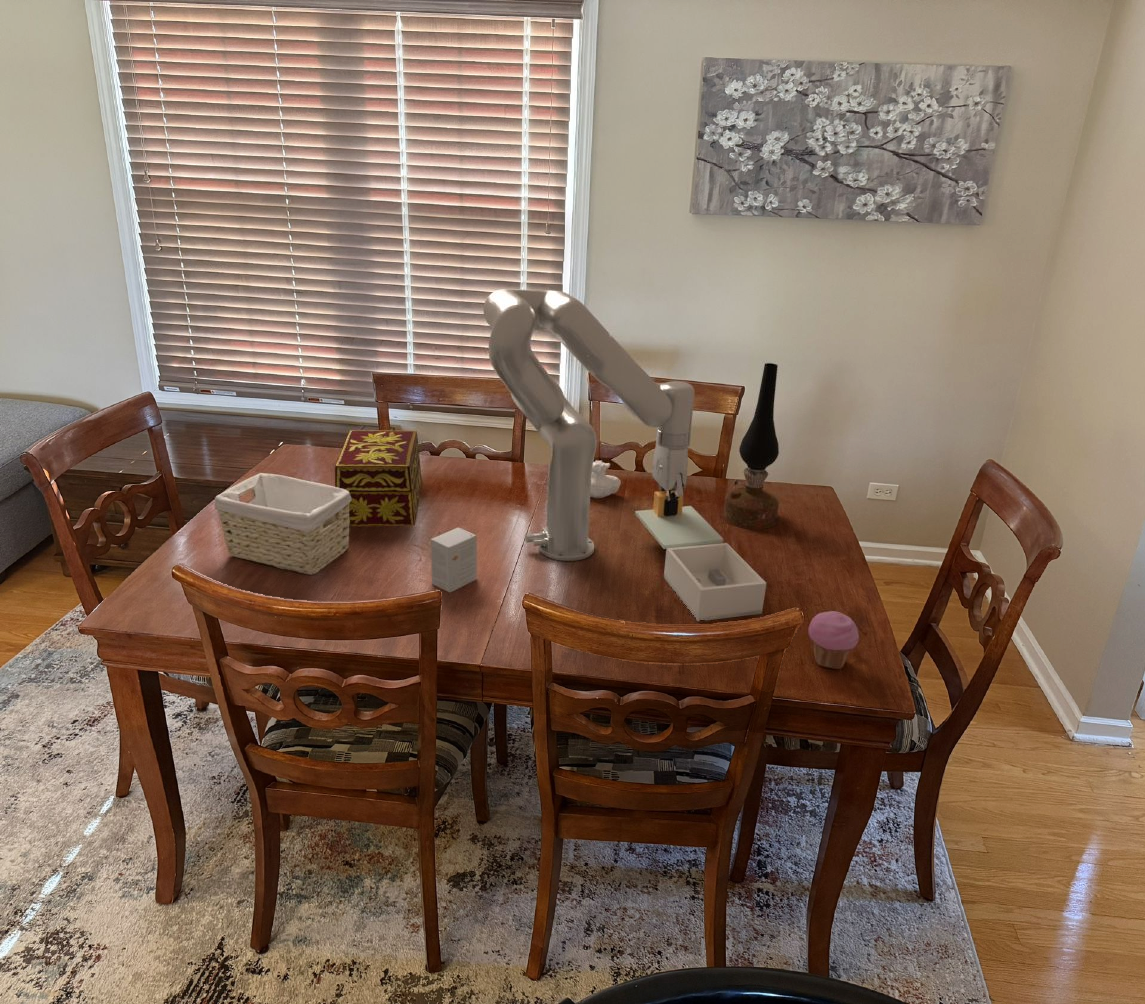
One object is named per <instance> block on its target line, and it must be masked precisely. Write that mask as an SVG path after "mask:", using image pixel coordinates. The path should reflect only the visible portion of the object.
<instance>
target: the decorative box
mask: <svg viewBox="0 0 1145 1004" xmlns="http://www.w3.org/2000/svg"><path fill="white" fill-rule="evenodd" d="M420 458H421V456H420V448H419V439H418V432H417V430H382V429H381V430H380V429H379V430H376V429H375V430H374V429H373V430H361V429H359V430H358V429H357V430H354V429H353V430H352V429H351V430H349V432H348V434H347V437H346V440H345V441H344V444H343V446H342V449H341V452H340V453H339V456H338V458H337V461H336V464H335V466H334V487H337V488H341V489H344V490H347V491H349V493H350V496H351V502H350V503H349V520H350V524H349V527H415V526H416V522H417V515H418V510H419V503H420V498H421V497H420V496H421V491H422V483H423V480H422V479H423V478H422V468H421V459H420Z"/></svg>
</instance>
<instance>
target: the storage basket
mask: <svg viewBox="0 0 1145 1004" xmlns="http://www.w3.org/2000/svg"><path fill="white" fill-rule="evenodd" d="M250 492H251V495H252V496H253V499H252V500H251V501H249V502H247V503H246V502H244V501H240V499H239V498H242V496H244V495H247V493H250ZM350 502H351V496H350V493H349V491H347V490H344V489H341V488H337V487H335V486H333V485H329V484H326V483H319V482H314V481H310V480H309V481H308V480H304V479H299V478H295V477H290V476H286V475H281V474H274V473H263V472H259V473H258V474H255V475H253V476H251V477H249V478H247V479H244V480H242V481H240V482H238V483H236V484H235V485H234V486H231V487H230V488H227V489H226V490H225V491H223V492H222V493H220V494H217V495H216V496H215V497H214V509H216V510H217V514H218V518H219V520H220V525H221V527H222V532H223V539H224V541H225V545H226V549H227V553H228V555H229V556H232V557H235V558H238V559H242V560H243V559H244V560H246V561H252V562H255V563H261V564H265V565H268V566H272V567H276V568H278V569H281V570H287V571H294V572H297V573H300V574H304V575H305V574H306V575H315V574H317V573H318V572H320V571H321V570H322V569H325V568H326V566H327V565H330V563H332V562H333V561H335V560H336V559H337V558H339V557H340V556H341V555H343V554H344V553H345V552H346V551H347V550H348V549H349V547H350V546H349V543H350V542H349V541H350V536H349V534H350V526H349V524H350V520H349V503H350Z"/></svg>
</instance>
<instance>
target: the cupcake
mask: <svg viewBox="0 0 1145 1004" xmlns="http://www.w3.org/2000/svg"><path fill="white" fill-rule="evenodd" d="M807 630H808V636H809V638H810V639H811V641H813V655H814V660H815V662H816V663H817V665H819V666H821V667H824V668H830V669H835V670H840V669H842V668H843V667H844V666H845V663H846V660H847V657H848V656H849V653H850V651H851V650H852V649H854V648H855V647H856V646H857V644H858V642H859V640H860V635H859V631H858V630H859V629H858V626H857V624H856V623H855V621H854V620H853V619H852V618H851V617H850V616H848V615H846V614H844V613H842V612H839V611H835V610H829V611H824V612H820V613H817V614H816V615H815V616H814V617H813V618H812V620H811V621H810V624H809V626H808V629H807Z"/></svg>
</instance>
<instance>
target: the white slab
mask: <svg viewBox="0 0 1145 1004" xmlns="http://www.w3.org/2000/svg"><path fill="white" fill-rule="evenodd" d="M675 491H676V490H674V491H671V493H672V492H675ZM666 497H667V491H659V490H658V491H654V494H653V508H652V509H645V510H635V511H634V512H635V513H634V514H635V516H636V517H637V518H638V520H639V521H640V522H641V523H642V524H643V526H644V527H645V528H646V529H647V531H648V532H649V533H650V534H651V535H652V537H653V538H654V539H655V540H656V541H657V542H658V544H659V545H660V547H662V549H664V550H665V549H667V548H677V547H688V546H698V545H709V544H720V543H724V538H723V537H722V536H721V535H720V533H718V532H717V530H715V529H714V528H713V527H712V525H711V524H709V523H708V521H707V520H705V518H704V517H703V516H702V515H700V513H698V511H697V510H695V508H694V507H692V505H688V506H687V505H686V506H683V505H684V495H683V496H682V497H680V498H679V500H678V512H677V515H672V516H665V515H664V503H665V499H666Z"/></svg>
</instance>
